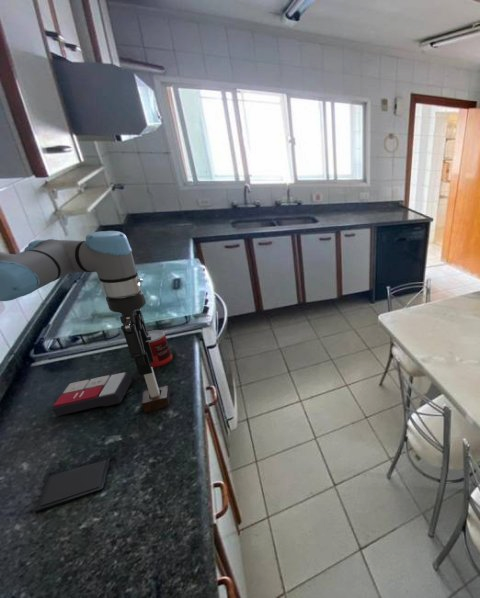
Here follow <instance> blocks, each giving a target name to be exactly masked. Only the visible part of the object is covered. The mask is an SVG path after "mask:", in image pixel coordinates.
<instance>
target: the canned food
mask: <svg viewBox="0 0 480 598" xmlns="http://www.w3.org/2000/svg"><path fill="white" fill-rule="evenodd" d="M147 332H148V336H147V337H151V340H149V344H150V348H151V351H152V354H153V358H154V362H150V365H151V367H152V368H153V369H155V368H160V367H164V366H166V365H168V364H169V363H171V362H172V361H173V354H172V350H171V348H170V345H169V342H168V338H167V336H166V333H165V332H164V330H161V329H153V330H147ZM147 342H148V341H147Z"/></svg>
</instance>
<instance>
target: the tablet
mask: <svg viewBox="0 0 480 598" xmlns="http://www.w3.org/2000/svg"><path fill="white" fill-rule="evenodd" d="M110 464H111V457H110V458H106V459H103V460H99V461H95V462H93V463H89V464H85V465H82V466H79V467H76V468H72V469H69V470H65V471H62V472H59V473H55V474H52V475H49V476H48V478H47V480H46V482H45V485H44V487H43V489H42V492H41V494H40V497H39V499H38V502H37V504H36V506H35V509H34V513H35V514H37V513H38V514H39V513H42V512H44V511H47V510H50V509H54V508H56V507H59V506H62V505H66V504H68V503H72V502H74V501H78V500H80V499H83V498H85V497H88V496H91V495H94V494H96V493H100V492H102V491H104V488H105V485H106V481H107V476H108V473H109V468H110Z"/></svg>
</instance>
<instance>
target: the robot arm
mask: <svg viewBox="0 0 480 598" xmlns="http://www.w3.org/2000/svg"><path fill="white" fill-rule="evenodd" d="M73 273H96V274H97V277H98V279H99V283H100V287H101V290H102V293H103V295H104V296H105V301H106V304H107V307H108V309H109V311H111V312H113V313H118V314H121V316H120V317H119V319H120V323H121V324H122V325H121V326H120V329H121V331H122V333H123V335H124V339H125V342H126V345H127V348H128V351H129V354H130V355H129V358H130V359H134V362H135V364H136V365H135V366H136V367H137V370H138V374H139V376H144V375H145V374H150V373H152V369H151V365H150V362H154V358H153V354H152V351H151V348H150V344H149V340H151V337H147V336H148V328H147V325H146V322H145V318H144V315H143V312H142V308H144V306H146V304H147V301H146V297H145V294H144V291H142V289H143V288H142V285H141V283H143V282H144V280H143V279H142V278H139V274H138V270H137V267H136V262H135V260H134V255H133V249H132V247H131V245H130V242H129V239H128V238H127V236H126V234H125V233H124V232H121V231H117V230H106V231H105V230H104V231H103V230H102V231H95V232H90V233H88V234H87V235H86V236H85V240H68V239H67V240H66V239H53V238H52V239H51V238H49V239H37V240H33V241H31V242H29V243H28V245H27V246H26V247H25V248H24V251H22V252H18V253H15V254H14V253H7V252H4V251H0V302H10V301H13V300H16V299H19V298H21V297H25V296H27V295H30V294H32V293H34V292H35V291H37V290H39V289H41V288H42V287H45V286H46V285H49V284H50V283H52V282H55V281H57V280H59V279H61V278H63V277H65V276H68V275H70V274H73ZM147 341H148V342H147Z"/></svg>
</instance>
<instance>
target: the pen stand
mask: <svg viewBox="0 0 480 598" xmlns="http://www.w3.org/2000/svg"><path fill="white" fill-rule="evenodd" d="M158 388H159V391H160V395H161V396H158V397H153V398H151V396H150V393H149V390H148V389H146V390H143V393H142V399H141V407H142V410H143V412H144V414H146V413H150V412H153V411H157V410H160V409H163V408H164V409H165V408H167V407H170V400H171V392H170V387H169V385H164V386H160V387H159V386H158Z"/></svg>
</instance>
